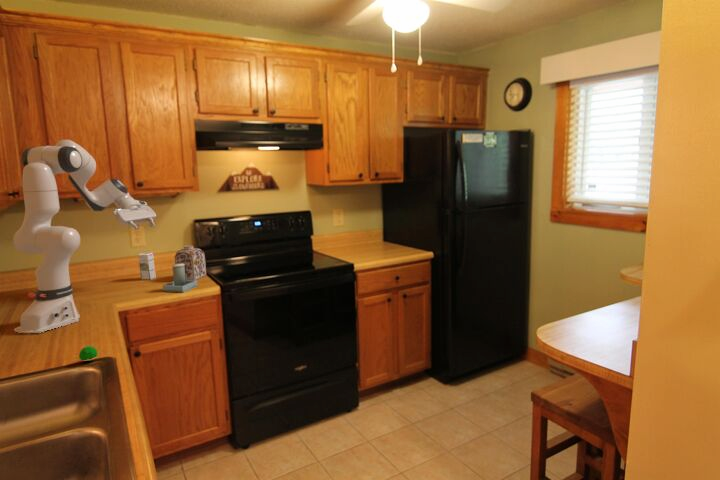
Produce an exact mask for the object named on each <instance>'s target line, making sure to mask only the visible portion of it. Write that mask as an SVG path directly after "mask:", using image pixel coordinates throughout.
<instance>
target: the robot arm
mask: <svg viewBox="0 0 720 480" xmlns="http://www.w3.org/2000/svg"><path fill="white" fill-rule="evenodd" d="M20 157H21V158H20V161H21V164H22V167H23V168H22V169H23V170H22V183H21V184H22V192H23V193H22V194H23V199H24V210H25V211H24V217H23V218H24V219H23V221H22V225H21V226H20V228H19V229H18V230H17V231H16V232H14V234H13V239H12V240H13V241H12V243H13V246H14V247H15V249H16V250H18V251H19V252H22V253H26V254H34V255H36V254H37V255H38V254H39V255H43V259H42V260H43V261H42V264H40V265H39V266H37V267H36V269H35V271H34V272H35V273H34V274H35V280H36V285H37V289H36V292H33V291H32V292H28V294H27V297H28V298H30V299H31V298H34V300H33V301H32V303H31V304H29V306H28V307H27V308H26V309H25V310H24V311H23V312H22V313H21V315H20V325H19V326H17V327H14V329H13V332H14V331H15V332H14V333H16V332H18V333H17V334H19V333H39V334H42V333H41V332H43V333H45V332H44V331H47V330H50V331H52V330H51V329H53V330H55V329H54V328H56V329H59V328H62V327H64V326H68V325H71V323H72V324H74V323H77V322H80V318H81V315H80V313H79V311H78V309H77V307H76V304H75V303H76V302H75V301H74V297H73V293H74V290H73V284H72V283H71V278H70V270H69V268H70V267H69V266H70V261H71V259H72V255H73V254H74V252H75V251H77V249H79V247H80V245H81V240H82V239H81V235H80V233H79V231H78V230H76V229H75V228H73V227H69V226H63V225H54V226H52V225H51V224H52V219H53V217H54V216H55V215H56V214H58V213H59V211H60V209H61V207H60V198H59V192H58V185H57V181H56V177H55V176H56V175H57V174H65V173H68V175H67V176H68V177H67V178H68V180H69V182H70V183H71V185H72V186H73V187H74V189H75V190H76V192H78V193H79V195H80V196H81V197H82V198H83V200H84V201H85V203H86V205H87V206H88V207H89V209H90V210H92V211H94V212H103V211H104V210H106V208H108V206H110V205H111V204H114V205H115V206H116V207H117V208H116V209H113V210H112V214H113V215H114V217H115V219H116V220H117V222H118V224H119V225H121V226H127V225H128V226H130V227H131V228H133V229H134V230H135V231H137V230H139V229H140V226H139V225H138V224H139V223H145V222H148V223H149V227H150V228H153V227H155V223H154V220H155V219H156V217H157V214H156V212H155V211H154V210H153V208H151V207H150V206H149V205H148V203H147V202H146V201H143V200H137V199H135V198H133V197H132V196H131V195H130V193H129V190H128V188H127V187H126V185H125V184H124V183H123V182H122V181H121V180H120V179H118V178H109V179H106V181H104V182H103V183H101V184H100V185H99V186H98V187H96V188H95V189H93V190H91V191H90V190H89V189H88V188H87V187H86V185H87V183H88V181H90V179H91V178H92V177H93V176H94V174H95V173H96V170H97V163H96V159H95V158H94V156H92V155H91V154H90V153H89V152H88V151H87V150H86V149H85V148H84V147H82V146H81V145H80V144H78V143H76V142H75V141H73V140H71V139H61V140H58V142H56V143H55V145H43V146H42V145H41V146H31V147H28V148H26V149H24V150H23V151H22V153H21V156H20ZM61 326H62V327H61ZM58 327H59V328H58ZM47 332H48V331H47Z"/></svg>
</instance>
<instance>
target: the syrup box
mask: <svg viewBox="0 0 720 480" xmlns="http://www.w3.org/2000/svg"><path fill="white" fill-rule="evenodd" d="M137 258H138V264H139V273H140V280H142V281H143V280H144V281H145V280H147V281H150V280H153V279H155V278H156V276H157V275H156V270H155V269H156V268H155V259H154V253H153V252H141V253H139V254H138V255H137Z"/></svg>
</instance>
